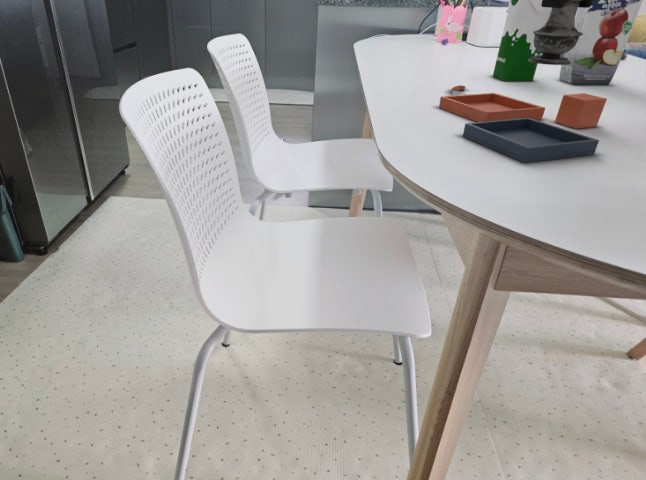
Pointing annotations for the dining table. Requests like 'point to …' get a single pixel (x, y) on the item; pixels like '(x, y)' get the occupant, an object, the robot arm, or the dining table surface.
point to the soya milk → (520, 40)
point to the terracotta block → (580, 110)
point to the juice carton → (599, 41)
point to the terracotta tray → (490, 107)
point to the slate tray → (530, 139)
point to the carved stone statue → (557, 35)
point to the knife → (457, 90)
